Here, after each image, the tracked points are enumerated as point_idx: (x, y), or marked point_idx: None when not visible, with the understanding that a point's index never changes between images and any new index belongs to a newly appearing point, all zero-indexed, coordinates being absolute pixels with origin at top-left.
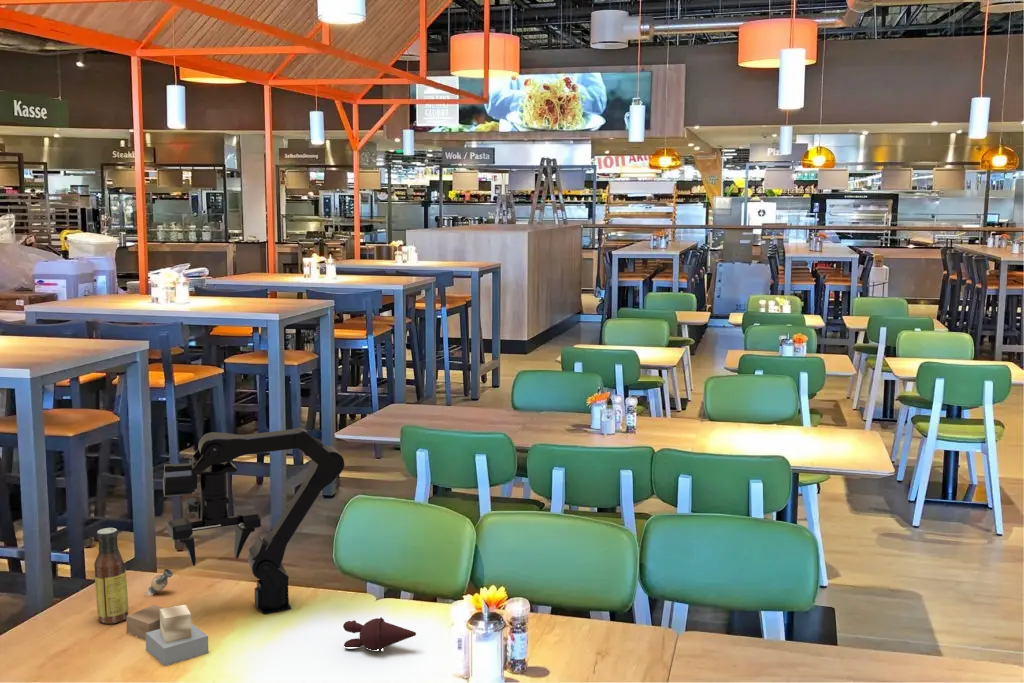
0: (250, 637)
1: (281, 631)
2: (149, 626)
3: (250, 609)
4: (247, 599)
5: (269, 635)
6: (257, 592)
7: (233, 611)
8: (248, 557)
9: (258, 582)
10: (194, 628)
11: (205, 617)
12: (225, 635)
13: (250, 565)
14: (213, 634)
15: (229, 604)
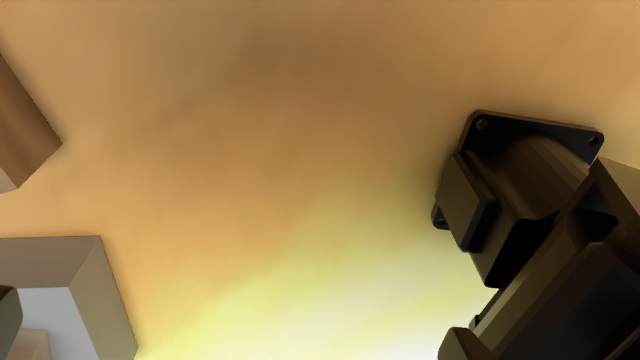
0: (293, 329)
1: (393, 341)
2: None
3: (425, 143)
4: (492, 24)
5: (348, 344)
6: (459, 241)
7: (355, 118)
8: (592, 272)
9: (501, 248)
10: (81, 347)
11: (217, 103)
12: (228, 284)
13: (497, 350)
14: (193, 258)
15: (385, 27)
